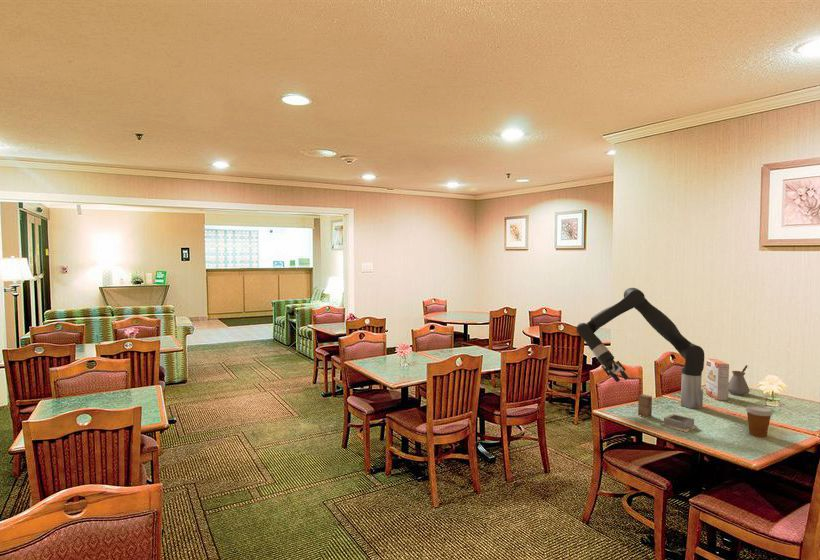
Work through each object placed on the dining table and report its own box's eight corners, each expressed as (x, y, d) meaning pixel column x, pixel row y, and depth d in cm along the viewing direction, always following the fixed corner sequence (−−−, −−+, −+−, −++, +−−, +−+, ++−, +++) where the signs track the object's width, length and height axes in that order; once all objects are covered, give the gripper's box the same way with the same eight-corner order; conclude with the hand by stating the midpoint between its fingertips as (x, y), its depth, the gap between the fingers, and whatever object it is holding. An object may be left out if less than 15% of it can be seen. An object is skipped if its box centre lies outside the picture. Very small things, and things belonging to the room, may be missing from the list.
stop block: (642, 413, 242) (643, 394, 241) (651, 416, 238) (652, 396, 238) (638, 415, 239) (638, 395, 239) (647, 417, 235) (647, 397, 235)
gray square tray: (671, 420, 231) (672, 413, 231) (696, 427, 222) (696, 419, 222) (661, 425, 224) (661, 417, 224) (686, 432, 215) (686, 424, 215)
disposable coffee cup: (762, 440, 207) (763, 412, 206) (740, 432, 215) (741, 406, 215) (776, 437, 210) (777, 410, 210) (753, 430, 219) (754, 404, 219)
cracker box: (704, 393, 279) (706, 358, 279) (715, 394, 279) (717, 358, 278) (716, 400, 266) (718, 363, 265) (728, 401, 265) (729, 363, 264)
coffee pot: (745, 397, 272) (746, 371, 271) (722, 393, 281) (723, 368, 280) (757, 391, 285) (758, 366, 285) (735, 387, 294) (736, 363, 294)
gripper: (600, 351, 249) (620, 378, 241) (614, 349, 258) (635, 374, 249) (590, 360, 254) (610, 386, 245) (605, 357, 262) (624, 382, 254)
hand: (622, 380), depth 247 cm, fingers open, 8 cm apart
